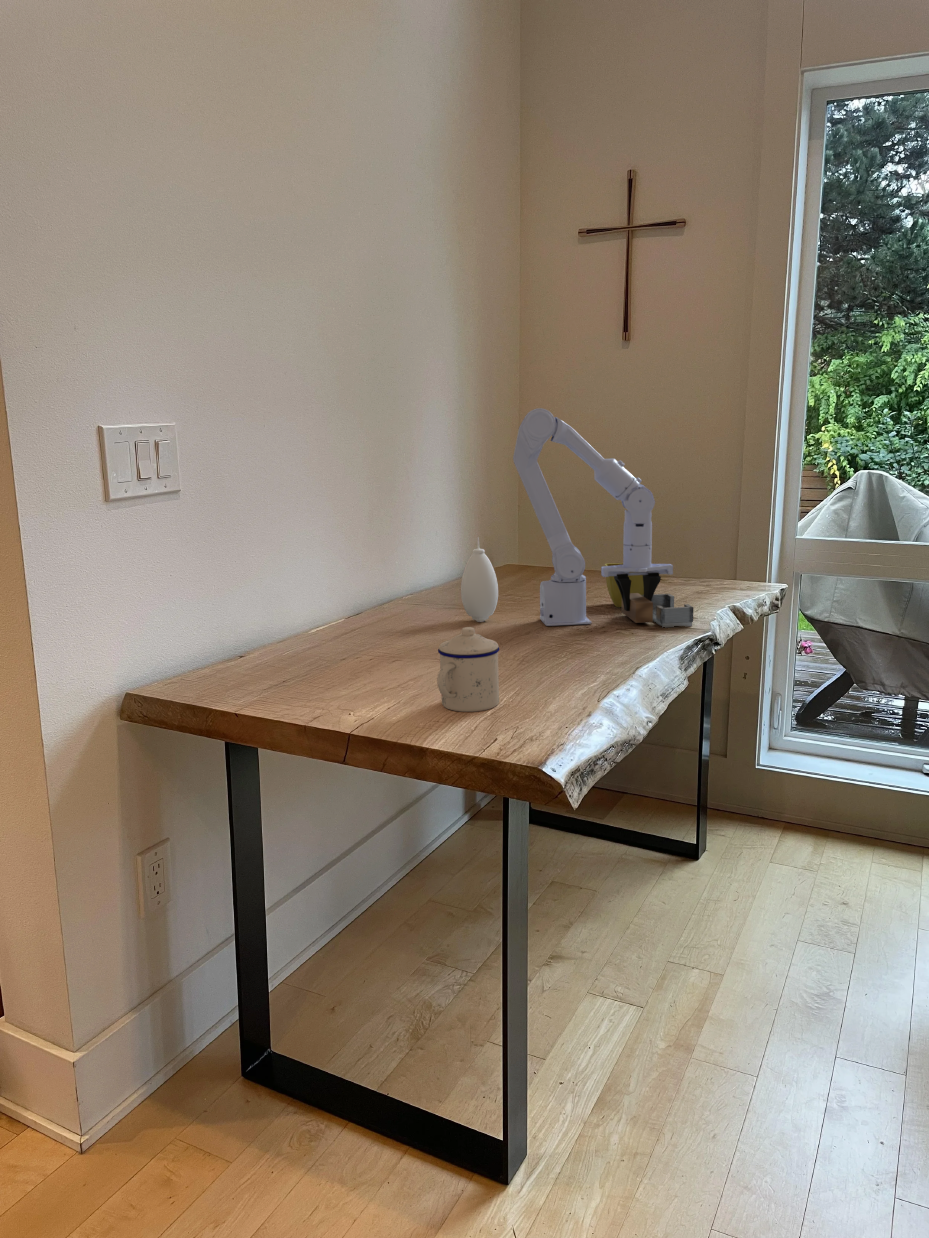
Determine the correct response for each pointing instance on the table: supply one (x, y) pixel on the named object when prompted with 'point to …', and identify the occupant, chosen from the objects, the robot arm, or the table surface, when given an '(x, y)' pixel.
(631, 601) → the block
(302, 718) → the table surface
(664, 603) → the bracket
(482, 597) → the white rubber air blower
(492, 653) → the teacup with lid
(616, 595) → the flower pot
